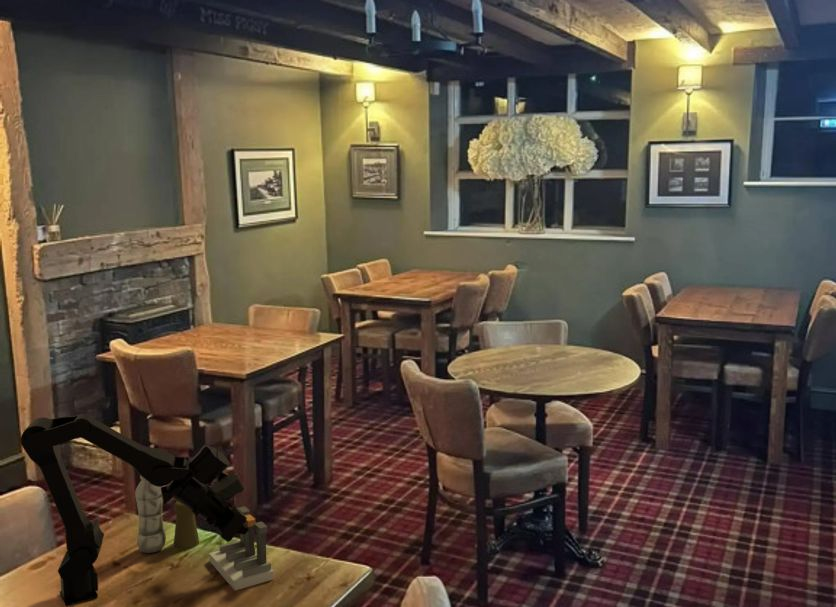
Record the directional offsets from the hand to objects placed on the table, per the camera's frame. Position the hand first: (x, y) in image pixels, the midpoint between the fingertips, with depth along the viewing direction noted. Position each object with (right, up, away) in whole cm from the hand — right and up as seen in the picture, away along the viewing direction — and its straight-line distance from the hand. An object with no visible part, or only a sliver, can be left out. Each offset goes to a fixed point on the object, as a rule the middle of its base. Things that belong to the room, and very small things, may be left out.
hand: (245, 532), depth 181 cm
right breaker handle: (+4, -7, -2) cm, 8 cm away
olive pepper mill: (-17, -7, +14) cm, 23 cm away
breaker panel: (-1, -9, +1) cm, 9 cm away
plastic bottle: (-25, -7, +10) cm, 28 cm away
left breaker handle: (-2, -6, +6) cm, 8 cm away
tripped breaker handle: (+1, -6, +2) cm, 7 cm away
